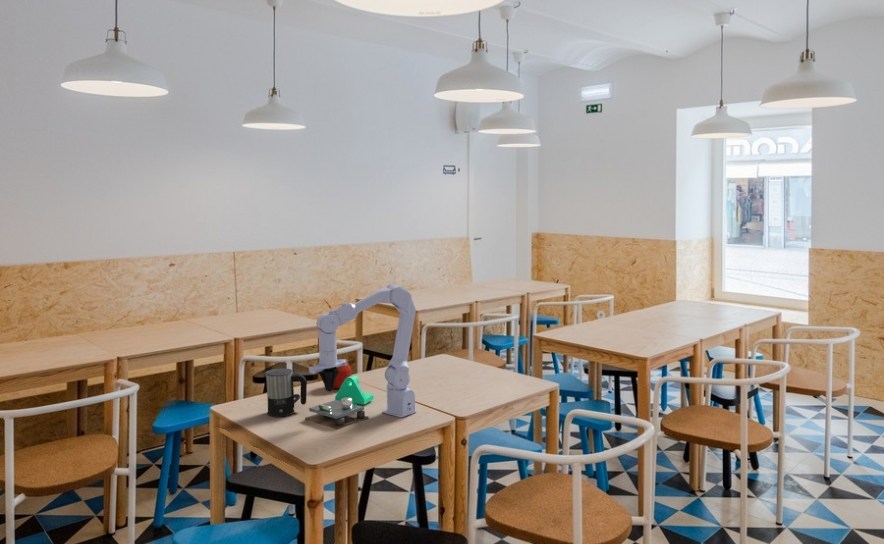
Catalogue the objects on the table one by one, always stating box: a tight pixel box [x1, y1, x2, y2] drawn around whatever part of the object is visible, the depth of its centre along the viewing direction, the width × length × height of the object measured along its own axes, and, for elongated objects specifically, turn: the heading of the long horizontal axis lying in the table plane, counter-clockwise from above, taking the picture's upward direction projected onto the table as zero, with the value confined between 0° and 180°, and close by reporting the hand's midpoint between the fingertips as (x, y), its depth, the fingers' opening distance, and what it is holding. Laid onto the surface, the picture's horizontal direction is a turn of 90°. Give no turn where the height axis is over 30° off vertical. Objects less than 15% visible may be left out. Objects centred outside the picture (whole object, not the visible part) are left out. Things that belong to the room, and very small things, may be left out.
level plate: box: [308, 397, 365, 419], centre depth 223 cm, size 14×12×4 cm
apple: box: [333, 358, 353, 390], centre depth 261 cm, size 10×10×12 cm
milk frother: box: [264, 368, 308, 418], centre depth 234 cm, size 14×16×15 cm
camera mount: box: [334, 374, 374, 405], centre depth 242 cm, size 12×8×10 cm, turn 68°
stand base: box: [304, 410, 369, 430], centre depth 223 cm, size 16×14×3 cm
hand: (329, 390), depth 220 cm, fingers closed
